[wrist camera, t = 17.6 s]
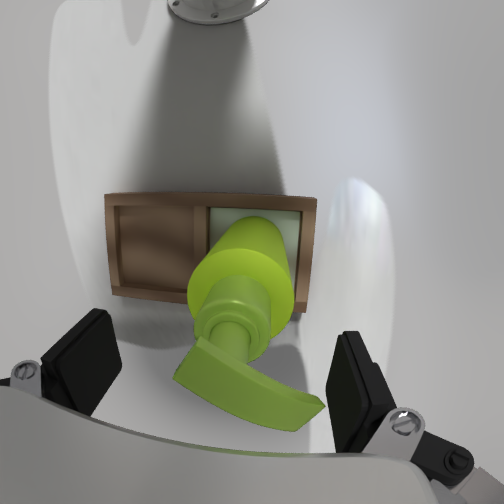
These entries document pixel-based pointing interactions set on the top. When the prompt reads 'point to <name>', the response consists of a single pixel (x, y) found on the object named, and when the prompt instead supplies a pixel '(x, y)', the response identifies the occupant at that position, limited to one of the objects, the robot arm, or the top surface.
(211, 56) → the top surface
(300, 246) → the wooden divided tray
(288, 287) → the soap dispenser
